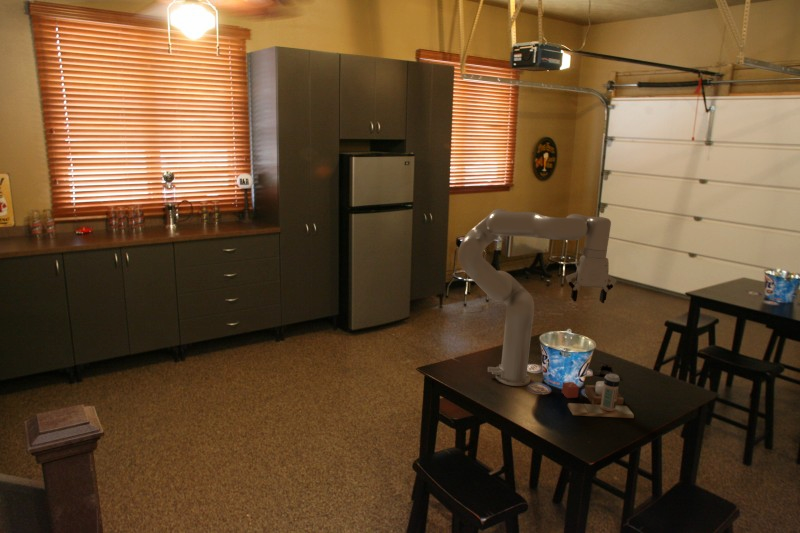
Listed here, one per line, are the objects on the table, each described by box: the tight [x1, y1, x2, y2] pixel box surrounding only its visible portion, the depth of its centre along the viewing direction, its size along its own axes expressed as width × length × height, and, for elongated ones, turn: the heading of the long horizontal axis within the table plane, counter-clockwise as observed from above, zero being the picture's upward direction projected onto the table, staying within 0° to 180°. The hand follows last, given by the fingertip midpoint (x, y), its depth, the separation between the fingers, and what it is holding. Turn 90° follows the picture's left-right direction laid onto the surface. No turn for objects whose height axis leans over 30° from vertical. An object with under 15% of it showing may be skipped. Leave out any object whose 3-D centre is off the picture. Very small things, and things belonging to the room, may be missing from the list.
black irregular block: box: [591, 362, 619, 379], centre depth 225 cm, size 12×7×5 cm, turn 71°
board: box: [567, 402, 635, 419], centre depth 195 cm, size 20×6×1 cm, turn 90°
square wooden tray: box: [583, 384, 625, 406], centre depth 204 cm, size 10×10×3 cm
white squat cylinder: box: [595, 380, 604, 396], centre depth 204 cm, size 6×6×5 cm
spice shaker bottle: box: [601, 372, 621, 411], centre depth 194 cm, size 5×5×12 cm
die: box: [561, 381, 580, 399], centre depth 206 cm, size 4×4×4 cm
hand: (587, 301), depth 204 cm, fingers open, 9 cm apart
